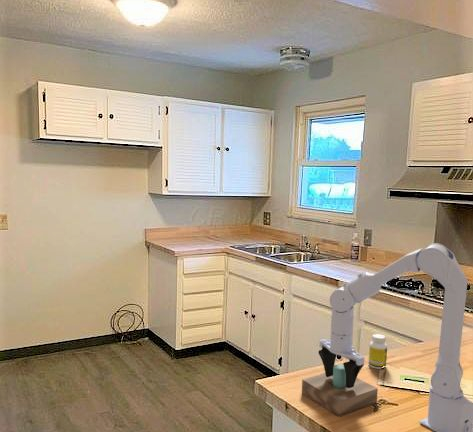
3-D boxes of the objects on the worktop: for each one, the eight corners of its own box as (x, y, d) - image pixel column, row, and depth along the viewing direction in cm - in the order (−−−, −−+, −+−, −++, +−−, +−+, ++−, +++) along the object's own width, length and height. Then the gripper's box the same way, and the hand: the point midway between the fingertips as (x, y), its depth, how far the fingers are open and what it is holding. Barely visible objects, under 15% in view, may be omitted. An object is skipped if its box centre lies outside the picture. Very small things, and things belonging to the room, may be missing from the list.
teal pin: (348, 397, 123) (349, 368, 122) (338, 400, 121) (340, 371, 120) (338, 392, 125) (339, 364, 125) (329, 395, 124) (330, 366, 123)
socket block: (376, 402, 121) (377, 388, 121) (338, 417, 113) (339, 401, 113) (338, 382, 133) (339, 368, 132) (301, 393, 125) (302, 379, 125)
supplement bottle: (387, 370, 141) (388, 339, 141) (369, 368, 143) (370, 338, 142) (385, 363, 147) (386, 333, 146) (367, 361, 148) (369, 332, 147)
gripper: (373, 338, 117) (370, 388, 119) (333, 322, 130) (331, 368, 131) (354, 343, 114) (351, 395, 115) (314, 326, 126) (312, 373, 127)
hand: (339, 381), depth 123 cm, fingers open, 7 cm apart
